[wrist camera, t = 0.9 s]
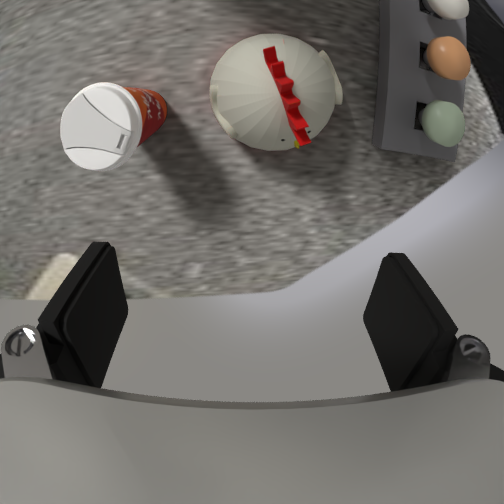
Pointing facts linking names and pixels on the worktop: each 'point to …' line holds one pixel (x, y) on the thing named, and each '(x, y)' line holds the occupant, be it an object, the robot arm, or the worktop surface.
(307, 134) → the white rounded crested piece
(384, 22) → the console
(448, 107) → the button sage
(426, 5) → the button ivory
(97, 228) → the worktop surface
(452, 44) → the button terracotta
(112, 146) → the paper cup
